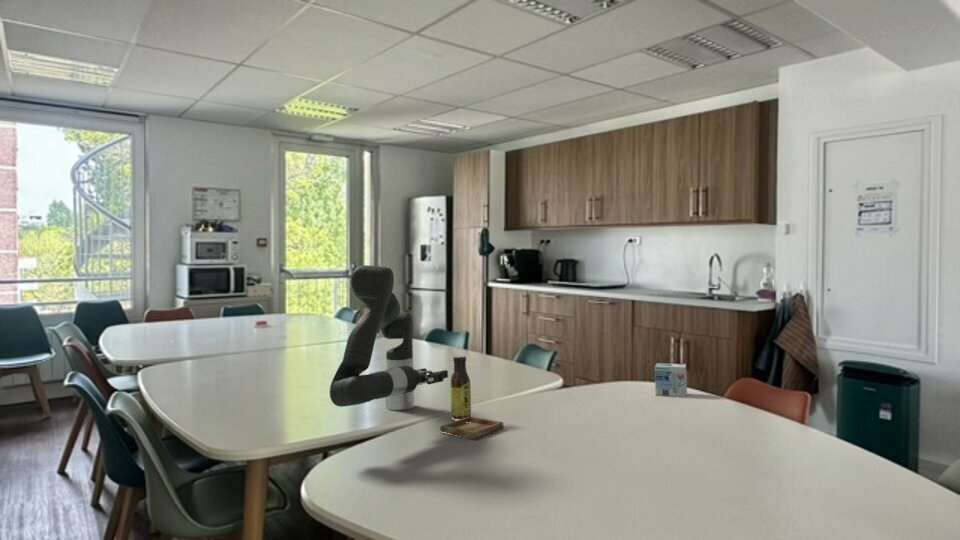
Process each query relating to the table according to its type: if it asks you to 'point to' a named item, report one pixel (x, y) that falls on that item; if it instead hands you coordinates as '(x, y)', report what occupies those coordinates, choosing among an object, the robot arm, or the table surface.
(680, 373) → the light bulb box
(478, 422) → the walnut tray
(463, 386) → the sauce bottle
